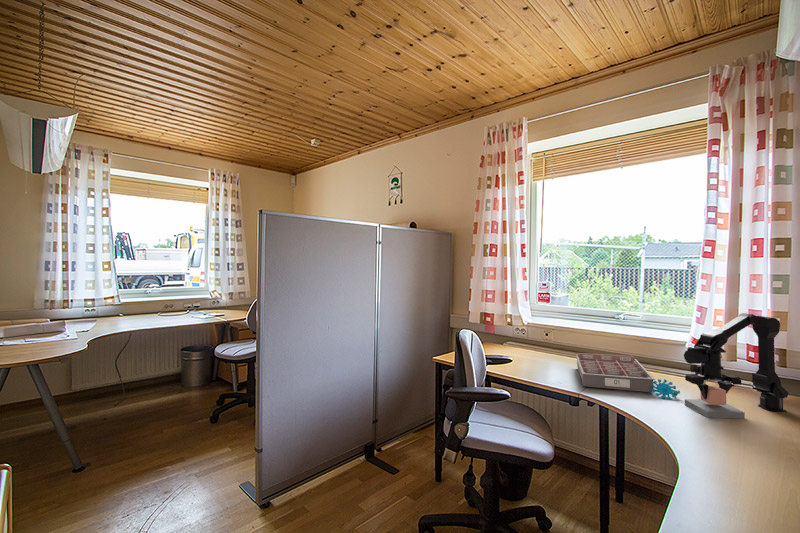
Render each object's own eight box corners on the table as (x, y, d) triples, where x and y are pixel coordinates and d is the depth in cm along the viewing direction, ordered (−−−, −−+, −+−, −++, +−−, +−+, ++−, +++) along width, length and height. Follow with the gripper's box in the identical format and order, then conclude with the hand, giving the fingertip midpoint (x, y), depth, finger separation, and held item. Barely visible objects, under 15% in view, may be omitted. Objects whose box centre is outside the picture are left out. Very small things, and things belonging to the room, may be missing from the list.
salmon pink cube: (715, 399, 159) (715, 385, 159) (726, 404, 153) (726, 390, 153) (700, 399, 160) (700, 385, 160) (710, 404, 154) (710, 390, 154)
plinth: (718, 405, 163) (718, 399, 163) (744, 418, 149) (744, 412, 149) (684, 404, 164) (684, 399, 164) (707, 417, 150) (707, 411, 150)
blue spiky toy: (649, 393, 174) (653, 375, 179) (649, 399, 178) (652, 381, 183) (678, 401, 168) (681, 382, 172) (677, 407, 171) (680, 389, 176)
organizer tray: (581, 389, 188) (581, 369, 188) (575, 368, 225) (575, 352, 225) (655, 396, 176) (655, 375, 176) (636, 372, 213) (636, 355, 213)
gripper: (721, 358, 163) (722, 392, 164) (676, 358, 166) (677, 392, 166) (742, 364, 152) (742, 402, 152) (693, 364, 154) (694, 401, 155)
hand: (713, 399), depth 157 cm, fingers closed on salmon pink cube, 6 cm apart
